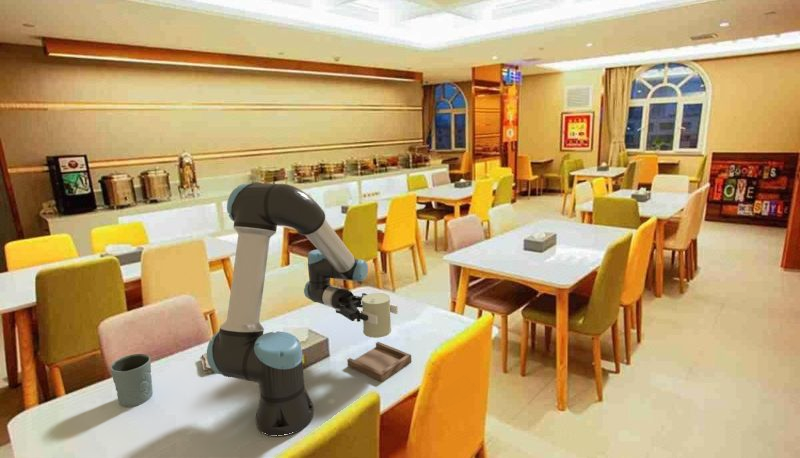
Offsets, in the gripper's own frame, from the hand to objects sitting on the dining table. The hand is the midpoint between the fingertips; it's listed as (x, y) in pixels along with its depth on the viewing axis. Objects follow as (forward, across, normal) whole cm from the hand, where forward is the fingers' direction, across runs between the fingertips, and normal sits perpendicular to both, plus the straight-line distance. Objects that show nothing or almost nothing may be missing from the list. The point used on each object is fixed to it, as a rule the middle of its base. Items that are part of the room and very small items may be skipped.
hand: (387, 314), depth 137 cm
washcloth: (-47, +29, -20) cm, 59 cm away
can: (-5, 0, -7) cm, 9 cm away
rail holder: (-4, 0, -19) cm, 19 cm away
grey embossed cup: (-49, +58, -19) cm, 78 cm away
